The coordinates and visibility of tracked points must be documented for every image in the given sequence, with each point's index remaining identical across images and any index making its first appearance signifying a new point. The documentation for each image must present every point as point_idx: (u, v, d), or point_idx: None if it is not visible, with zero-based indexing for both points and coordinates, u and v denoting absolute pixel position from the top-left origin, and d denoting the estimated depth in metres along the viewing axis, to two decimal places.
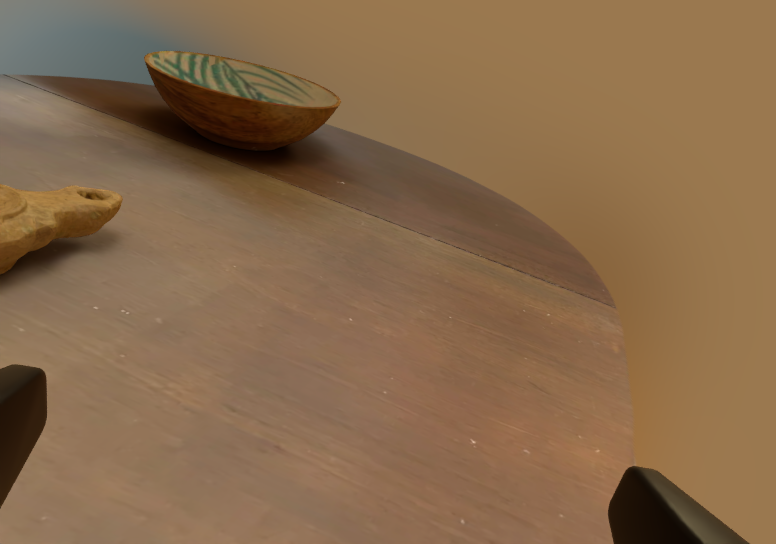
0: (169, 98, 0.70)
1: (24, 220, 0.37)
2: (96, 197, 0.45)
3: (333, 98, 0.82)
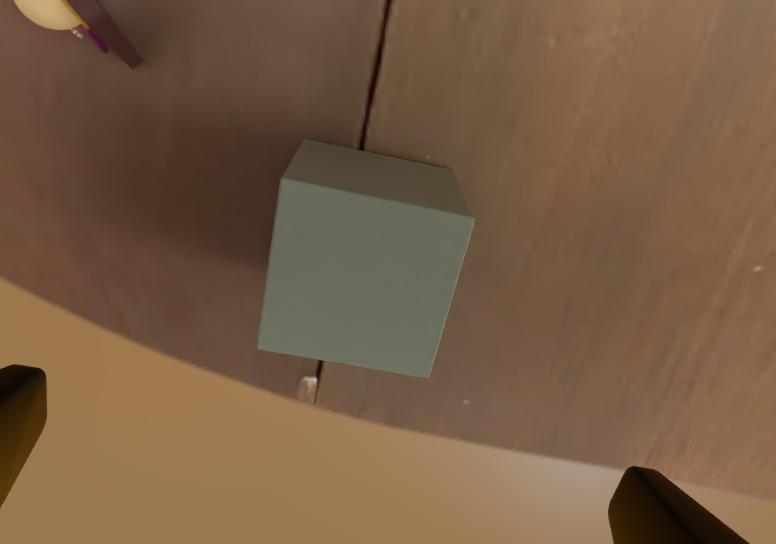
0: None
1: None
2: None
3: None
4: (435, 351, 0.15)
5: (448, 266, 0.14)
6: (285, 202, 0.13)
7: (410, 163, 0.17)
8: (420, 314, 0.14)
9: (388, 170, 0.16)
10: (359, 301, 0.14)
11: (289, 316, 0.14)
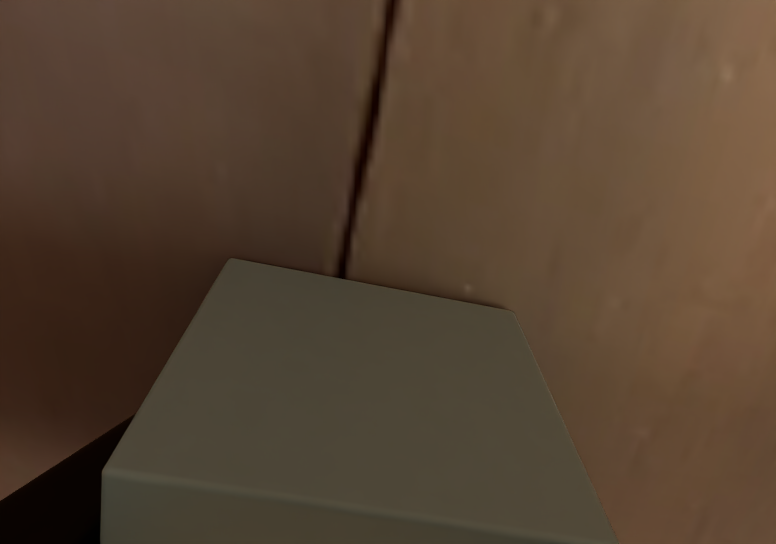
0: None
1: None
2: None
3: None
4: None
5: None
6: (120, 522, 0.05)
7: (435, 307, 0.09)
8: None
9: (393, 347, 0.07)
10: None
11: None
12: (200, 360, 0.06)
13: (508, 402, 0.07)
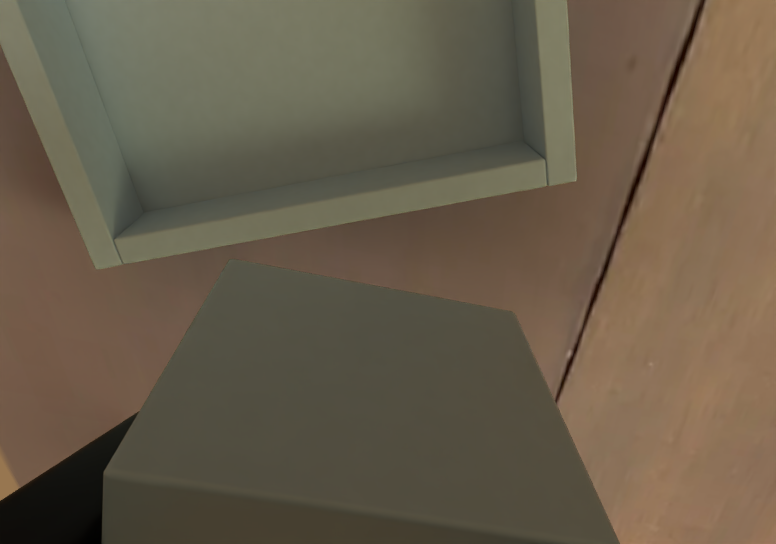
0: None
1: None
2: None
3: None
4: None
5: None
6: (121, 523, 0.05)
7: (436, 308, 0.09)
8: None
9: (394, 348, 0.07)
10: None
11: None
12: (201, 361, 0.06)
13: (509, 403, 0.07)
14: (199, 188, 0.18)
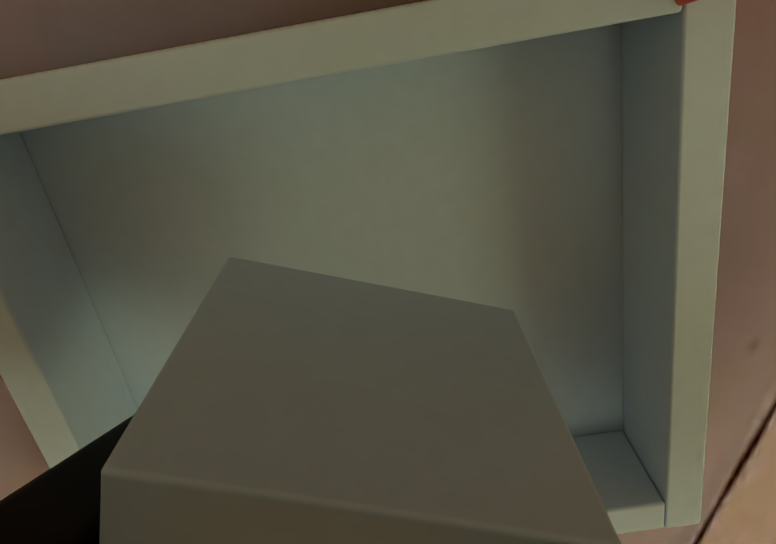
0: None
1: None
2: None
3: None
4: None
5: None
6: (119, 521, 0.05)
7: (436, 306, 0.09)
8: None
9: (393, 346, 0.07)
10: None
11: None
12: (200, 359, 0.06)
13: (509, 401, 0.07)
14: None
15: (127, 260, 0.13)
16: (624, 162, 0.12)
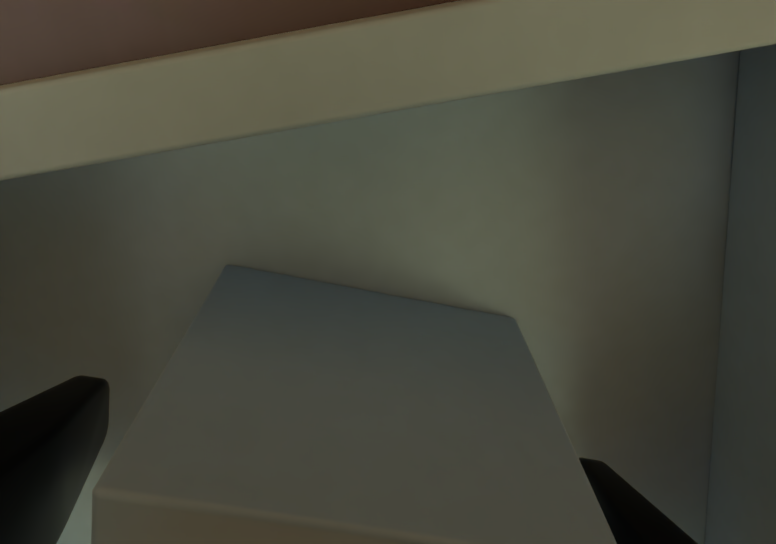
0: None
1: None
2: None
3: None
4: None
5: None
6: (111, 543, 0.05)
7: (436, 315, 0.09)
8: None
9: (393, 357, 0.07)
10: None
11: None
12: (195, 372, 0.06)
13: (511, 414, 0.07)
14: None
15: (26, 365, 0.09)
16: (730, 235, 0.08)
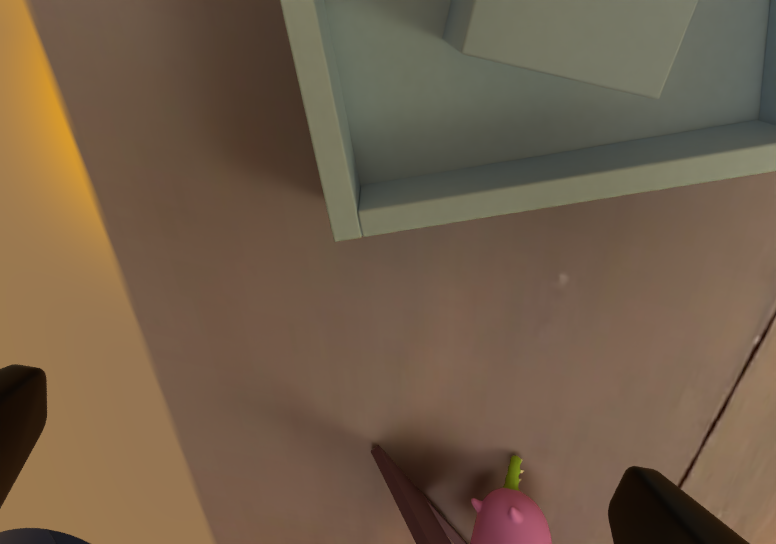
0: None
1: None
2: None
3: None
4: (673, 58, 0.12)
5: None
6: None
7: None
8: (664, 3, 0.12)
9: None
10: None
11: (508, 4, 0.12)
12: None
13: None
14: (419, 162, 0.18)
15: None
16: None
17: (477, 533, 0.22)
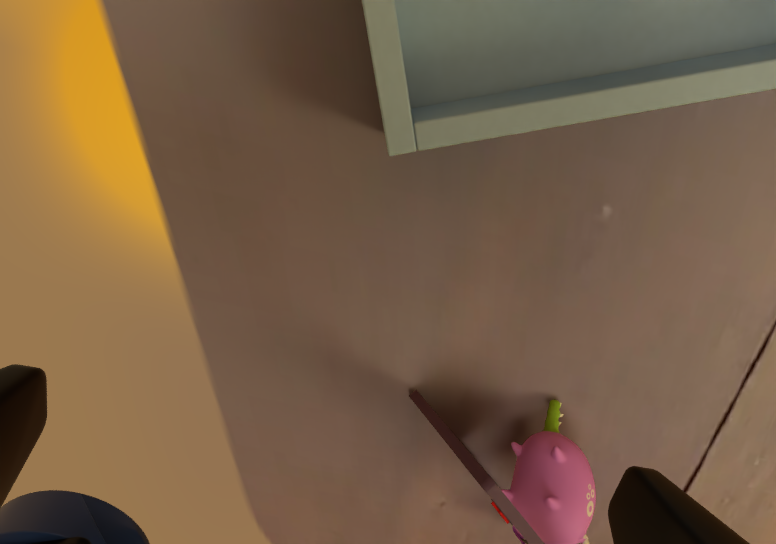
0: None
1: None
2: None
3: None
4: None
5: None
6: None
7: None
8: None
9: None
10: None
11: None
12: None
13: None
14: (468, 85, 0.18)
15: None
16: None
17: (519, 475, 0.22)
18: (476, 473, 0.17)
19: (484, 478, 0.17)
